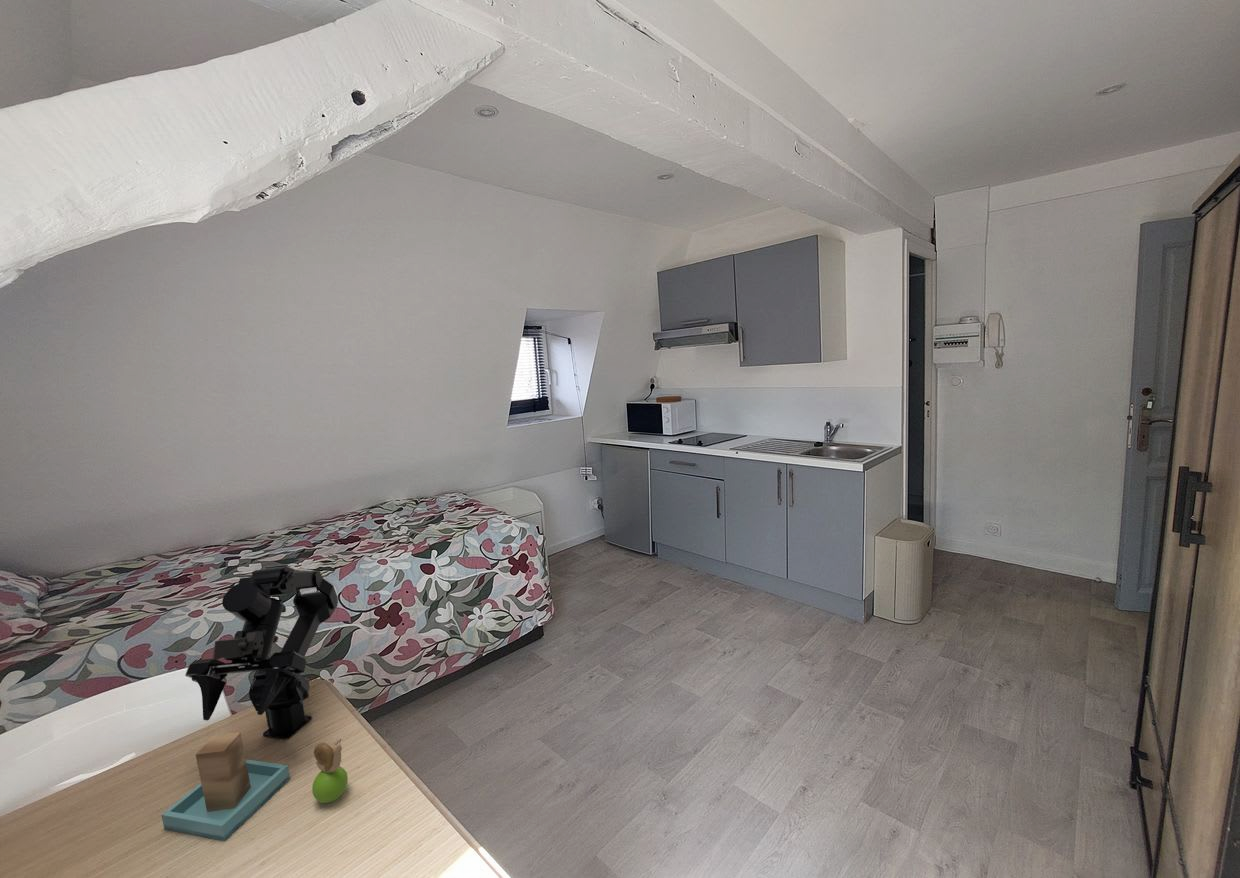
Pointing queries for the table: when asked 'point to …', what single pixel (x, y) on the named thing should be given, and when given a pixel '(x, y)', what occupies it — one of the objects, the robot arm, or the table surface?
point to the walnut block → (223, 771)
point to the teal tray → (223, 823)
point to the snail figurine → (329, 773)
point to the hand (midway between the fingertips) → (232, 717)
